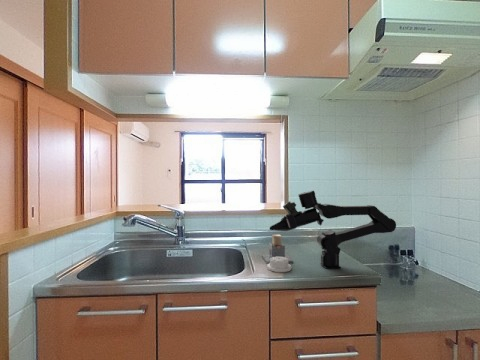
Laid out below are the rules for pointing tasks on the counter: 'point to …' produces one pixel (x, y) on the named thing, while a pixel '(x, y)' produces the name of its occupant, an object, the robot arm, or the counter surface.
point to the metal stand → (276, 253)
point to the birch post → (276, 240)
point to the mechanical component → (279, 264)
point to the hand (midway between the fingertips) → (270, 228)
